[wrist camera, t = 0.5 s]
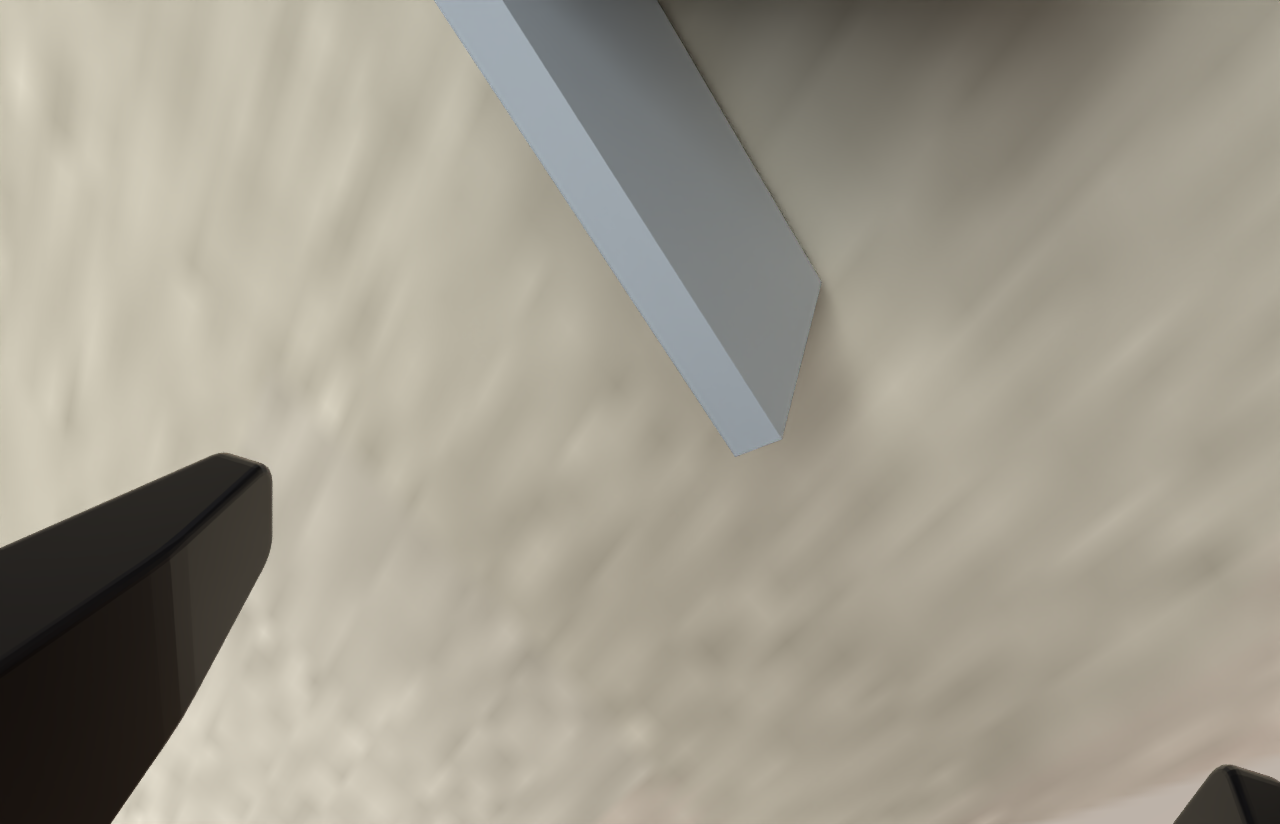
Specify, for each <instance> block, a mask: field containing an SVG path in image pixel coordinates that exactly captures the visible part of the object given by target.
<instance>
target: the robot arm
mask: <svg viewBox="0 0 1280 824" xmlns="http://www.w3.org/2000/svg"><path fill="white" fill-rule="evenodd" d="M271 544H272V475H271V473H270V470H269V469H268V467H267V466H265V465H264V464H262V463H259V462H256V461H253V460H249V459H246V458H243V457H240V456H236V455H233V454H230V453H218V454H214V455H211V456H209V457H207V458H205V459H202V460H200V461H198V462H195V463H193V464H191V465H189V466H186V467H184V468H182V469H179V470H177V471H175V472H173V473H170V474H168V475H166V476H163V477H161V478H159V479H157V480H154V481H152V482H150V483H147V484H145V485H143V486H141V487H138V488H136V489H134V490H131V491H129V492H127V493H125V494H122V495H120V496H118V497H116V498H113V499H111V500H109V501H106V502H104V503H102V504H100V505H97V506H95V507H93V508H90V509H88V510H86V511H84V512H81V513H79V514H77V515H74V516H72V517H70V518H68V519H65V520H63V521H61V522H58V523H56V524H54V525H52V526H49V527H47V528H45V529H43V530H40V531H38V532H36V533H33V534H31V535H29V536H27V537H24V538H22V539H20V540H17V541H15V542H13V543H11V544H8V545H6V546H4V547H1V548H0V824H111V822H112V821H113V820H114V818H115V817H116V815H117V814H118V812H119V811H120V809H121V808H122V807H123V805H124V804H125V802H126V801H127V799H128V798H129V796H130V795H131V794H132V792H133V791H134V789H135V788H136V786H137V785H138V783H139V782H140V780H141V779H142V778H143V776H144V775H145V773H146V772H147V770H148V769H149V767H150V766H151V765H152V763H153V762H154V760H155V759H156V757H157V756H158V754H159V753H160V752H161V750H162V749H163V747H164V746H165V744H166V743H167V741H168V740H169V738H170V737H171V735H172V734H173V732H174V730H175V729H176V727H177V726H178V724H179V723H180V721H181V720H182V718H183V716H184V714H185V713H186V711H187V709H188V707H189V706H190V704H191V702H192V700H193V699H194V697H195V695H196V693H197V691H198V689H199V688H200V686H201V684H202V682H203V680H204V678H205V676H206V675H207V673H208V671H209V669H210V667H211V665H212V663H213V661H214V660H215V658H216V656H217V654H218V652H219V650H220V648H221V646H222V645H223V643H224V641H225V639H226V637H227V635H228V633H229V632H230V630H231V628H232V626H233V624H234V622H235V620H236V618H237V617H238V615H239V613H240V611H241V609H242V607H243V605H244V603H245V602H246V600H247V598H248V596H249V594H250V592H251V590H252V588H253V587H254V585H255V583H256V581H257V579H258V577H259V575H260V574H261V572H262V570H263V568H264V566H265V564H266V561H267V559H268V556H269V552H270V549H271ZM1173 824H1280V782H1279V781H1277V780H1276V779H1274V778H1272V777H1270V776H1266V775H1263V774H1260V773H1257V772H1254V771H1250V770H1247V769H1244V768H1241V767H1238V766H1234V765H1222V766H1220V767H1218V768H1216V769H1215V770H1214V771H1213V772H1212V773H1211V774H1210V775H1209V777H1208V778H1207V779H1206V781H1205V782H1204V783H1203V784H1202V786H1201V787H1200V788H1199V790H1198V791H1197V792H1196V794H1195V795H1194V796H1193V798H1192V799H1191V800H1190V802H1189V803H1188V805H1187V806H1186V807H1185V808H1184V810H1183V811H1182V812H1181V814H1180V815H1179V817H1178V818H1177V819H1176V820H1175V822H1174V823H1173Z"/></svg>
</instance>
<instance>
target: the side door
mask: <svg viewBox="0 0 1280 824" xmlns="http://www.w3.org/2000/svg"><path fill="white" fill-rule="evenodd" d="M434 1H435V3H436V4H437V6H438V7H439V9H440V10H441V12H442V13H443V15H444V16H445V18H446V19H447V21H448V22H449V24H450V25H451V27H452V28H453V30H454V32H455V33H456V35H457V36H458V38H459V39H460V41H461V42H462V44H463V45H464V47H465V48H466V50H467V51H468V53H469V54H470V56H471V57H472V59H473V60H474V62H475V63H476V65H477V66H478V68H479V69H480V71H481V72H482V74H483V75H484V77H485V78H486V80H487V82H488V83H489V85H490V86H491V88H492V89H493V91H494V92H495V94H496V95H497V97H498V98H499V100H500V101H501V103H502V104H503V106H504V107H505V109H506V110H507V112H508V113H509V115H510V116H511V118H512V119H513V121H514V122H515V124H516V125H517V127H518V129H519V130H520V132H521V133H522V135H523V136H524V138H525V139H526V141H527V142H528V144H529V145H530V147H531V148H532V150H533V151H534V153H535V154H536V156H537V157H538V159H539V160H540V162H541V163H542V165H543V166H544V168H545V169H546V171H547V172H548V174H549V175H550V177H551V179H552V180H553V182H554V183H555V185H556V186H557V188H558V189H559V191H560V192H561V194H562V195H563V197H564V198H565V200H566V201H567V203H568V204H569V206H570V207H571V209H572V210H573V212H574V213H575V215H576V216H577V218H578V219H579V221H580V222H581V224H582V225H583V227H584V229H585V230H586V232H587V233H588V235H589V236H590V238H591V239H592V241H593V242H594V244H595V245H596V247H597V248H598V250H599V251H600V253H601V254H602V256H603V257H604V259H605V260H606V262H607V263H608V265H609V266H610V268H611V269H612V271H613V272H614V274H615V275H616V277H617V279H618V280H619V282H620V283H621V285H622V286H623V288H624V289H625V291H626V292H627V294H628V295H629V297H630V298H631V300H632V301H633V303H634V304H635V306H636V307H637V309H638V310H639V312H640V313H641V315H642V316H643V318H644V319H645V321H646V322H647V324H648V326H649V327H650V329H651V330H652V332H653V333H654V335H655V336H656V338H657V339H658V341H659V342H660V344H661V345H662V347H663V348H664V350H665V351H666V353H667V354H668V356H669V357H670V359H671V360H672V362H673V363H674V365H675V366H676V368H677V369H678V371H679V372H680V374H681V376H682V377H683V379H684V380H685V382H686V383H687V385H688V386H689V388H690V389H691V391H692V392H693V394H694V395H695V397H696V398H697V400H698V401H699V403H700V404H701V406H702V407H703V409H704V410H705V412H706V413H707V415H708V416H709V418H710V419H711V421H712V422H713V424H714V426H715V427H716V429H717V430H718V432H719V433H720V435H721V436H722V438H723V439H724V441H725V442H726V444H727V445H728V447H729V448H730V450H731V451H732V453H733V454H734V456H735V457H736V456H739V455H741V454H744V453H747V452H749V451H752V450H755V449H757V448H760V447H763V446H765V445H768V444H771V443H773V442H776V441H779V440H781V439H782V437H783V433H784V429H785V425H786V421H787V417H788V413H789V409H790V405H791V401H792V398H793V394H794V390H795V386H796V382H797V378H798V374H799V370H800V366H801V362H802V358H803V354H804V350H805V346H806V342H807V338H808V334H809V330H810V326H811V322H812V318H813V314H814V310H815V306H816V302H817V299H818V295H819V291H820V287H821V283H822V282H821V280H820V278H819V277H818V275H817V273H816V271H815V270H814V268H813V266H812V265H811V263H810V261H809V259H808V258H807V256H806V254H805V253H804V251H803V249H802V247H801V246H800V244H799V242H798V241H797V239H796V237H795V236H794V234H793V232H792V230H791V229H790V227H789V225H788V224H787V222H786V220H785V218H784V217H783V215H782V213H781V212H780V210H779V208H778V206H777V205H776V203H775V201H774V200H773V198H772V196H771V194H770V193H769V191H768V189H767V188H766V186H765V184H764V182H763V181H762V179H761V177H760V176H759V174H758V172H757V170H756V169H755V167H754V165H753V164H752V162H751V160H750V158H749V157H748V155H747V153H746V152H745V150H744V148H743V147H742V145H741V143H740V141H739V140H738V138H737V136H736V135H735V133H734V131H733V129H732V128H731V126H730V124H729V123H728V121H727V119H726V117H725V116H724V114H723V112H722V111H721V109H720V107H719V105H718V104H717V102H716V100H715V99H714V97H713V95H712V93H711V92H710V90H709V88H708V87H707V85H706V83H705V81H704V80H703V78H702V76H701V75H700V73H699V71H698V69H697V68H696V66H695V64H694V63H693V61H692V59H691V57H690V56H689V54H688V52H687V51H686V49H685V47H684V46H683V44H682V42H681V40H680V39H679V37H678V35H677V34H676V32H675V30H674V28H673V27H672V25H671V23H670V22H669V20H668V18H667V16H666V15H665V13H664V11H663V10H662V8H661V6H660V4H659V3H658V1H657V0H434Z"/></svg>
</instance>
